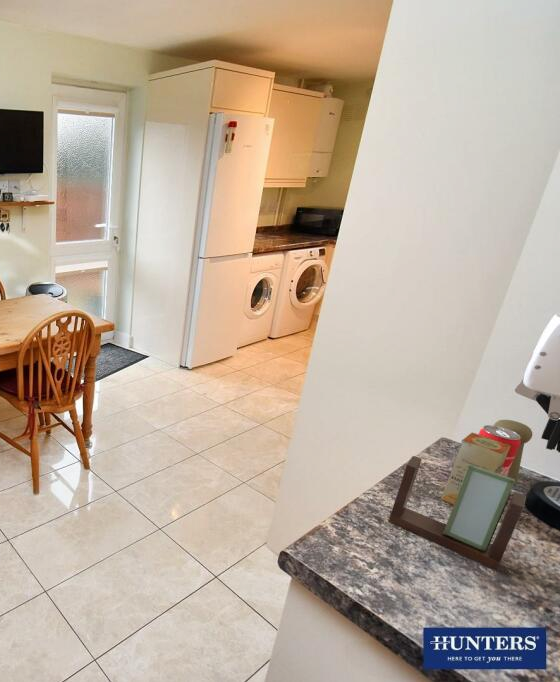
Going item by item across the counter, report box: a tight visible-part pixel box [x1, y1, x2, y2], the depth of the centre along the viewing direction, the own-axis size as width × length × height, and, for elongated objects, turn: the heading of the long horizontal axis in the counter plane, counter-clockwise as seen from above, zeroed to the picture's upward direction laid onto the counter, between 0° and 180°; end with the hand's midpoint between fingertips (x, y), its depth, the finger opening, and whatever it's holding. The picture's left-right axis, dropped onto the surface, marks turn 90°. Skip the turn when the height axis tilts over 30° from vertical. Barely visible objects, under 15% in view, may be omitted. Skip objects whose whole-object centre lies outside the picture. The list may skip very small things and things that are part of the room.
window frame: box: [388, 455, 527, 571], centre depth 68 cm, size 13×4×11 cm, turn 41°
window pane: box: [443, 464, 516, 551], centre depth 65 cm, size 5×1×12 cm, turn 41°
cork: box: [492, 419, 533, 483], centre depth 85 cm, size 6×6×11 cm
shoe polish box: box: [440, 431, 511, 506], centre depth 76 cm, size 5×5×12 cm
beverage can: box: [477, 424, 521, 476], centre depth 80 cm, size 5×5×12 cm
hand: (555, 447), depth 58 cm, fingers closed
